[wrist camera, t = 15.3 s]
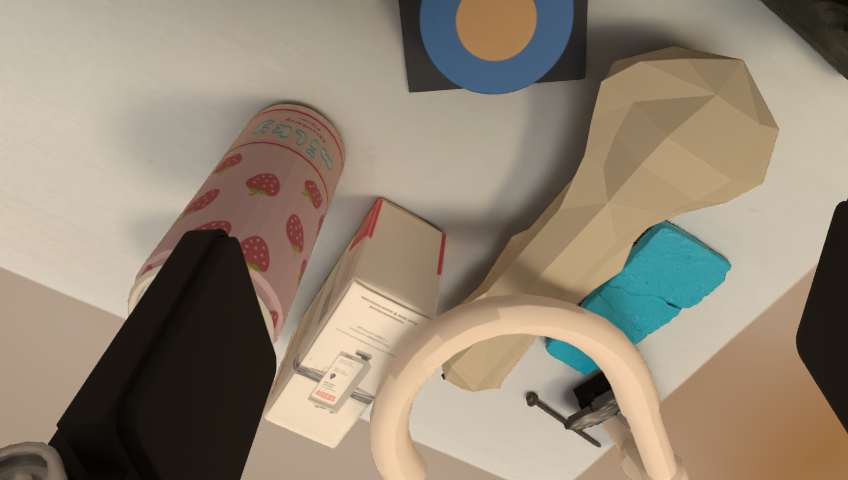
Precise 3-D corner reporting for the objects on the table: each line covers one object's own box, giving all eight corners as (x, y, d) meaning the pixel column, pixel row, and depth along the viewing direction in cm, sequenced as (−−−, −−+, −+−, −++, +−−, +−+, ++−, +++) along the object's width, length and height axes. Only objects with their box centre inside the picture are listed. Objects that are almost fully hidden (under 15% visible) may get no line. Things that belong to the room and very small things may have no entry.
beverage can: (360, 127, 34) (297, 299, 22) (326, 208, 37) (253, 400, 25) (260, 84, 33) (134, 238, 21) (234, 171, 36) (109, 352, 24)
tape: (418, -71, 28) (411, -55, 25) (561, -86, 28) (577, -72, 24) (432, 68, 32) (427, 100, 28) (559, 57, 31) (572, 89, 27)
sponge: (608, 379, 43) (538, 340, 43) (737, 258, 37) (658, 210, 37) (611, 394, 42) (538, 354, 41) (744, 272, 36) (663, 222, 35)
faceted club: (801, 90, 31) (511, 377, 44) (660, -12, 31) (413, 307, 44) (847, 146, 23) (481, 471, 37) (660, 11, 23) (363, 386, 37)
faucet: (458, 546, 46) (298, 312, 35) (632, 438, 48) (535, 178, 36) (507, 658, 39) (324, 409, 27) (712, 527, 40) (621, 236, 28)
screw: (535, 399, 44) (532, 388, 45) (524, 406, 44) (522, 395, 45) (606, 448, 47) (603, 438, 48) (596, 455, 47) (593, 444, 48)
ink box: (448, 231, 38) (359, 352, 44) (377, 191, 37) (296, 321, 42) (439, 324, 30) (334, 454, 36) (349, 278, 29) (256, 420, 35)
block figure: (578, 400, 47) (641, 364, 45) (592, 429, 46) (658, 394, 43) (538, 396, 43) (606, 356, 40) (553, 429, 41) (624, 389, 39)
